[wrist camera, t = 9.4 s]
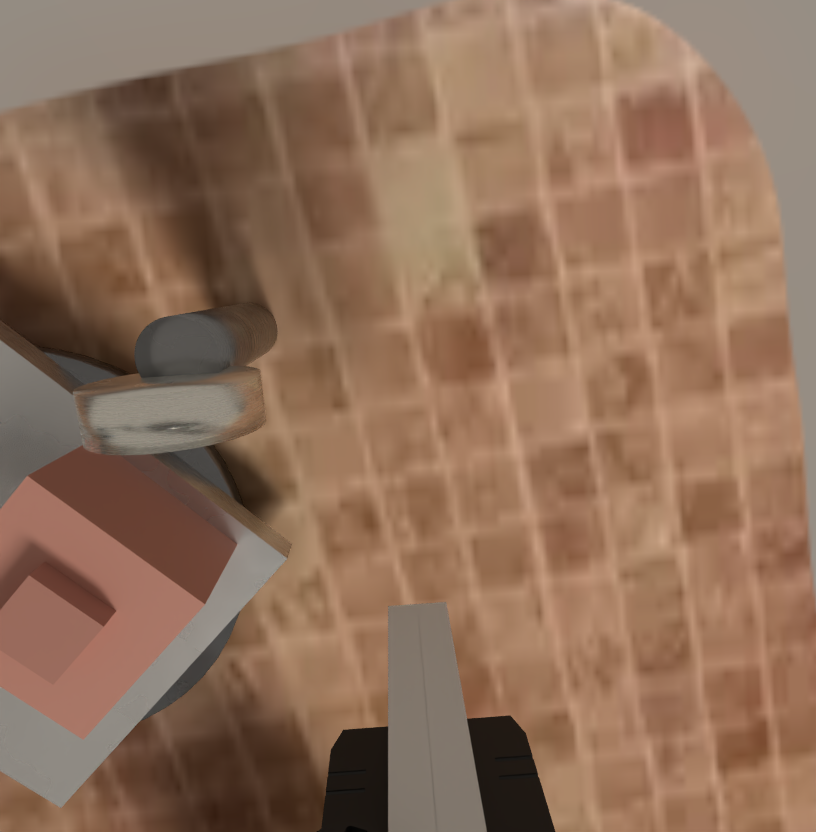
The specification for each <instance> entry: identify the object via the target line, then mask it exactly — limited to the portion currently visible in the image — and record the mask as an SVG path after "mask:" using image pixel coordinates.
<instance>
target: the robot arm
mask: <svg viewBox="0 0 816 832" xmlns="http://www.w3.org/2000/svg"><path fill="white" fill-rule="evenodd" d="M317 832H555V829H554V826H553V823H552V819H551V816H550V813H549V809H548V806H547V803H546V799H545V796H544V793H543V789H542V786H541V783H540V779H539V777H538V773H537V769H536V766H535V763H534V759H533V758H532V753H531V749H530V746H529V743H528V739H527V736H526V733H525V732H524V731H523V730H522V729H521V727H520V726H519V725H518V724H517V723H516V722H515V720H514V719H513V718H512V717H511V716H498V717H485V718H472V719H467V717H466V711H465V706H464V700H463V694H462V689H461V683H460V677H459V672H458V666H457V661H456V655H455V649H454V644H453V638H452V632H451V627H450V621H449V615H448V610H447V604H446V602H440V603H426V604H412V605H398V606H388V727H375V728H362V729H349V730H343V731H342V733H341V734H340V736H339V738H338V739H337V741H336V743H335V744H334V746H333V747H332V749H331V754H330V762H329V770H328V779H327V787H326V796H325V803H324V812H323V820H322V828H321V829H320V830H319V831H317Z"/></svg>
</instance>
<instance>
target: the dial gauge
mask: <svg viewBox="0 0 816 832" xmlns="http://www.w3.org/2000/svg"><path fill="white" fill-rule="evenodd" d="M276 338H277V325H276V322H275V319H274V318H273V316H272V315H271V313H270V312H269V311H268V310H267V309H265V308H264V307H262V306H260V305H258V304H254V303H243V304H237V305H231V306H226V307H220V308H214V309H208V310H203V311H197V312H191V313H185V314H180V315H174V316H168V317H164V318H160V319H158V320H155V321H154V322H152V323H150V324H149V325H148V326H147V327H146V328H145V329H144V330H143V331H142V332H141V334H140V335H139V338H138V340H137V342H136V346H135V363H136V367H137V370H138V372H139V373H137V374H131V375H125V376H119V377H114V378H109V379H104V380H100V381H96V382H92V383H89V384H86V385H83V386H80V387H78V388H76V389H74V390H73V396H74V402H75V407H76V412H77V417H78V422H79V427H80V433H81V438H82V443H83V447H84V448H85V449H86V450H88V451H90V452H93V453H98V454H105V455H146V454H158V453H167V452H175V451H181V450H188V449H194V448H199V447H204V446H209V445H213V444H217V443H221V442H225V441H229V440H232V439H236V438H238V437H241V436H244V435H247V434H249V433H252V432H254V431H256V430H258V429H259V428H261V427H262V426H263V425H264V424H265V423H266V414H265V406H264V397H263V389H262V380H261V372H260V370H259V369H257V368H254V367H247V365H248V364H250V363H251V362H253V361H254V360H256V359H257V358H259V357H261V356H262V355H264V354H265V353H267V352H268V351H269V350H270V349H271V348H272V347H273V345H274V343H275V341H276Z"/></svg>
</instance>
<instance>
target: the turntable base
mask: <svg viewBox="0 0 816 832" xmlns="http://www.w3.org/2000/svg"><path fill="white" fill-rule="evenodd" d="M37 348H38V349H39V350H40V351H42V352H43V353H44V354H46V355H47V356H48V357H50V358H51V359H52V360H53V361H55V362H56V363H57V364H59V365H60V366H61V367H63V368H64V369H65V370H66V371H68V372H69V373H70V374H72V375H73V376H74V377H76V378H77V379H78V380H79V381H81V382H82V383H83V384H85V385H86V384H89V383H92V382H96V381H100V380H104V379H109V378H114V377H119V376H125V375H131V374H129V373H127V372H125V371H123V370H121V369H119V368H117V367H114V366H112V365H109V364H106V363H104V362H101V361H99V360H96V359H93V358H91V357H87V356H83V355H79V354H75V353H71V352H67V351H63V350H57V349H49V348H41V347H37ZM173 453H174V454H176V455H177V456H178V457H180V458H181V459H182V460H183V461H185V462H186V463H187V464H189V465H190V466H191V467H193V468H194V469H195V470H196V471H198V472H199V473H200V474H202V475H203V476H204V477H206V478H207V479H208V480H209V481H211V482H212V483H213V484H215V485H216V486H217V487H219V488H220V489H221V490H222V491H224V492H225V493H226V494H228V495H229V496H230V497H232V498H233V499H234V500H235V501H237V502H238V503H239V504H241V505H242V506H243V503H242V500H241V498H240V495H239V492H238V489H237V486H236V484H235V482H234V480H233V478H232V476H231V474H230V472H229V470H228V468H227V466H226V464H225V462H224V460H223V459H222V457H221V456H220V454H219V453H218V452H217V450H216V449H215V447H214V446H213V445H209V446H204V447H199V448H194V449H188V450H181V451H175V452H173ZM243 507H244V506H243ZM239 613H240V611H239V612H238V613H237V615H236V616H235V617H234V618H233V619H232V620H231V621H230V622H229V623H228V624H227V626H226V627H225V628H224V629H223V630H222V631H221V632H220V633H219V634H218V635H217V637H216V638H215V639H214V640H213V641H212V642H211V643H210V644H209V645H208V646H207V648H206V649H205V650H204V651H203V652H202V653H201V654H200V655H199V656H198V657H197V659H196V660H195V661H194V662H193V663H192V664H191V665H190V666H189V667H188V668H187V670H186V671H185V672H184V673H183V674H182V675H181V676H180V677H179V678H178V679H177V681H176V682H175V683H174V684H173V685H172V686H171V687H170V688H169V689H168V690H167V692H166V693H165V694H164V695H163V696H162V697H161V698H160V699H159V700H158V701H157V703H156V704H155V705H154V706H153V707H152V708H151V709H150V710H149V711H148V712H147V714H146V715H145V716H144V717H143V718H142V719H141V720H144V719H146V718H148V717H150V716H151V715H153V714H155V713H157V712H159V711H161V710H162V709H164V708H166V707H167V706H169V705H170V704H172V703H173V702H174V701H176V700H177V699H179V698H180V697H181V696H183V695H184V694H185V693H186V692H188V691H189V690H190V689H191V688H192V687H193V686H194V685H195V684H196V683H197V682H198V681H199V680H200V679H201V678H202V677H203V676H204V675H205V673H206V672H207V671H208V670H209V668H210V667H211V666H212V665H213V663H214V662H215V661H216V660H217V658H218V656H219V655H220V653H221V651H222V649H223V648H224V646H225V644H226V643H227V641H228V639H229V637H230V635H231V632H232V630H233V628H234V625H235V623H236V620H237V618H238V615H239ZM141 720H140V721H141Z"/></svg>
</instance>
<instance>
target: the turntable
mask: <svg viewBox="0 0 816 832" xmlns="http://www.w3.org/2000/svg"><path fill="white" fill-rule="evenodd" d="M83 385H85V384H83V383H82V382H81V381H79V380H78V379H77V378H76V377H74V376H73V375H72V374H70V373H69V372H68V371H66V370H65V369H64V368H63V367H61V366H60V365H59V364H57V363H56V362H55V361H53V360H52V359H51V358H50V357H48V356H47V355H46V354H44V353H43V352H42V351H40V350H39V349H38V348H37V347H35V346H34V345H33V344H31V343H30V342H29V341H27V340H26V339H25V338H24V337H22V336H21V335H20V334H18V333H17V332H16V331H14V330H13V329H12V328H11V327H9V326H8V325H7V324H5V323H4V322H3V321H1V320H0V509H1V508H2V506H3V505H4V504H5V503H6V502H7V500H8V499H9V498H10V497H11V495H12V494H13V493H14V492H15V490H16V489H17V488H18V487H19V485H20V484H21V483H22V482H23V480H24V479H25V478H26V477H27V476H28V475H29V474H31V473H33V472H35V471H37V470H38V469H40V468H42V467H44V466H46V465H47V464H49V463H51V462H53V461H55V460H56V459H58V458H60V457H62V456H64V455H65V454H67V453H69V452H71V451H73V450H75V449H76V448H78V447H80V446H82V445H83V443H82V438H81V433H80V427H79V422H78V417H77V412H76V407H75V402H74V396H73V390H74V389H76V388H78V387H80V386H83ZM120 456H121V457H123V458H124V459H125V460H127V461H128V462H129V463H131V464H132V465H133V466H135V467H136V468H137V469H139V470H140V471H141V472H143V473H144V474H145V475H147V476H148V477H149V478H150V479H152V480H153V481H154V482H156V483H157V484H158V485H160V486H161V487H162V488H164V489H165V490H166V491H168V492H169V493H170V494H172V495H173V496H174V497H176V498H177V499H178V500H180V501H181V502H182V503H184V504H185V505H186V506H188V507H189V508H190V509H191V510H193V511H194V512H195V513H197V514H198V515H199V516H201V517H202V518H203V519H205V520H206V521H207V522H209V523H210V524H211V525H213V526H214V527H215V528H217V529H218V530H219V531H221V532H222V533H223V534H225V535H226V536H227V537H229V538H230V539H231V540H232V541H234V542H235V543H236V544H238V545H237V546H236V548H235V550H234V552H233V554H232V556H231V558H230V559H229V561H228V563H227V565H226V567H225V569H224V570H223V572H222V574H221V576H220V578H219V580H218V582H217V583H216V585H215V587H214V589H213V591H212V593H211V595H210V596H209V598H208V600H207V602H206V604H205V605H204V606H203V607H202V609H201V610H200V611H199V612H198V613H197V614H196V615H195V616H194V617H193V619H192V620H191V621H190V622H189V623H188V624H187V625H186V626H185V627H184V629H183V630H182V631H181V632H180V633H179V634H178V635H177V636H176V637H175V639H174V640H173V641H172V642H171V643H170V644H169V645H168V646H167V647H166V649H165V650H164V651H163V652H162V653H161V654H160V655H159V656H158V657H157V659H156V660H155V661H154V662H153V663H152V664H151V665H150V666H149V667H148V669H147V670H146V671H145V672H144V673H143V674H142V675H141V676H140V677H139V679H138V680H137V681H136V682H135V683H134V684H133V685H132V686H131V687H130V689H129V690H128V691H127V692H126V693H125V694H124V695H123V696H122V697H121V699H120V700H119V701H118V702H117V703H116V704H115V705H114V706H113V708H112V709H111V710H110V711H109V712H108V713H107V714H106V715H105V716H104V718H103V719H102V720H101V721H100V722H99V723H98V724H97V725H96V726H95V728H94V729H93V730H92V731H91V732H90V733H89V734H88V735H87V736H86V738H85V739H84V740H83V739H81V738H80V737H78V736H76V735H75V734H73V733H72V732H70V731H69V730H67V729H66V728H64V727H62V726H61V725H59V724H58V723H56V722H55V721H53V720H52V719H50V718H48V717H47V716H45V715H44V714H42V713H41V712H39V711H38V710H36V709H34V708H33V707H31V706H30V705H28V704H27V703H25V702H23V701H22V700H20V699H19V698H17V697H16V696H14V695H13V694H11V693H9V692H8V691H6V690H5V689H3V688H2V687H0V771H1V772H3V773H4V774H6V775H8V776H9V777H11V778H13V779H14V780H16V781H18V782H19V783H21V784H23V785H24V786H26V787H27V788H29V789H31V790H32V791H34V792H36V793H37V794H39V795H41V796H42V797H44V798H46V799H47V800H49V801H50V802H52V803H54V804H55V805H57V806H59V807H60V808H61V807H62V806H63V805H64V804H65V803H66V802H67V801H68V799H69V798H70V797H71V796H72V795H73V794H74V793H75V792H76V791H77V790H78V788H79V787H80V786H81V785H82V784H83V783H84V782H85V781H86V780H87V779H88V777H89V776H90V775H91V774H92V773H93V772H94V771H95V770H96V769H97V768H98V766H99V765H100V764H101V763H102V762H103V761H104V760H105V759H106V758H107V757H108V755H109V754H110V753H111V752H112V751H113V750H114V749H115V748H116V747H117V746H118V744H119V743H120V742H121V741H122V740H123V739H124V738H125V737H126V736H127V735H128V733H129V732H130V731H131V730H132V729H133V728H134V727H135V726H136V725H137V723H138V722H139V721H140V720H141V719H142V718H143V717H144V716H145V715H146V714H147V712H148V711H149V710H150V709H151V708H152V707H153V706H154V705H155V704H156V703H157V701H158V700H159V699H160V698H161V697H162V696H163V695H164V694H165V693H166V692H167V690H168V689H169V688H170V687H171V686H172V685H173V684H174V683H175V682H176V681H177V679H178V678H179V677H180V676H181V675H182V674H183V673H184V672H185V671H186V670H187V668H188V667H189V666H190V665H191V664H192V663H193V662H194V661H195V660H196V659H197V657H198V656H199V655H200V654H201V653H202V652H203V651H204V650H205V649H206V648H207V646H208V645H209V644H210V643H211V642H212V641H213V640H214V639H215V638H216V637H217V635H218V634H219V633H220V632H221V631H222V630H223V629H224V628H225V627H226V626H227V624H228V623H229V622H230V621H231V620H232V619H233V618H234V617H235V616H236V615H237V613H238V612H239V611H240V610H241V609H242V608H243V607H244V606H245V605H246V604H247V602H248V601H249V600H250V599H251V598H252V597H253V596H254V595H255V594H256V593H257V591H258V590H259V589H260V588H261V587H262V586H263V585H264V584H265V583H266V582H267V580H268V579H269V578H270V577H271V576H272V575H273V574H274V573H275V572H276V570H277V569H278V568H279V567H280V566H281V565H282V564H283V563H284V562H285V561H286V559H287V558H288V555H289V552H290V549H291V546H292V544H291V543H290V542H289V541H287V540H286V539H285V538H284V537H282V536H281V535H280V534H278V533H277V532H276V531H274V530H273V529H272V528H271V527H269V526H268V525H267V524H265V523H264V522H263V521H261V520H260V519H259V518H258V517H256V516H255V515H254V514H252V513H251V512H250V511H248V510H247V509H246V508H245V507H243V506H242V505H241V504H239V503H238V502H237V501H235V500H234V499H233V498H232V497H230V496H229V495H228V494H226V493H225V492H224V491H222V490H221V489H220V488H219V487H217V486H216V485H215V484H213V483H212V482H211V481H209V480H208V479H207V478H206V477H204V476H203V475H202V474H200V473H199V472H198V471H196V470H195V469H194V468H193V467H191V466H190V465H189V464H187V463H186V462H185V461H183V460H182V459H181V458H180V457H178V456H177V455H176V454H174V453H173V452H167V453H158V454H146V455H120Z"/></svg>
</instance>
